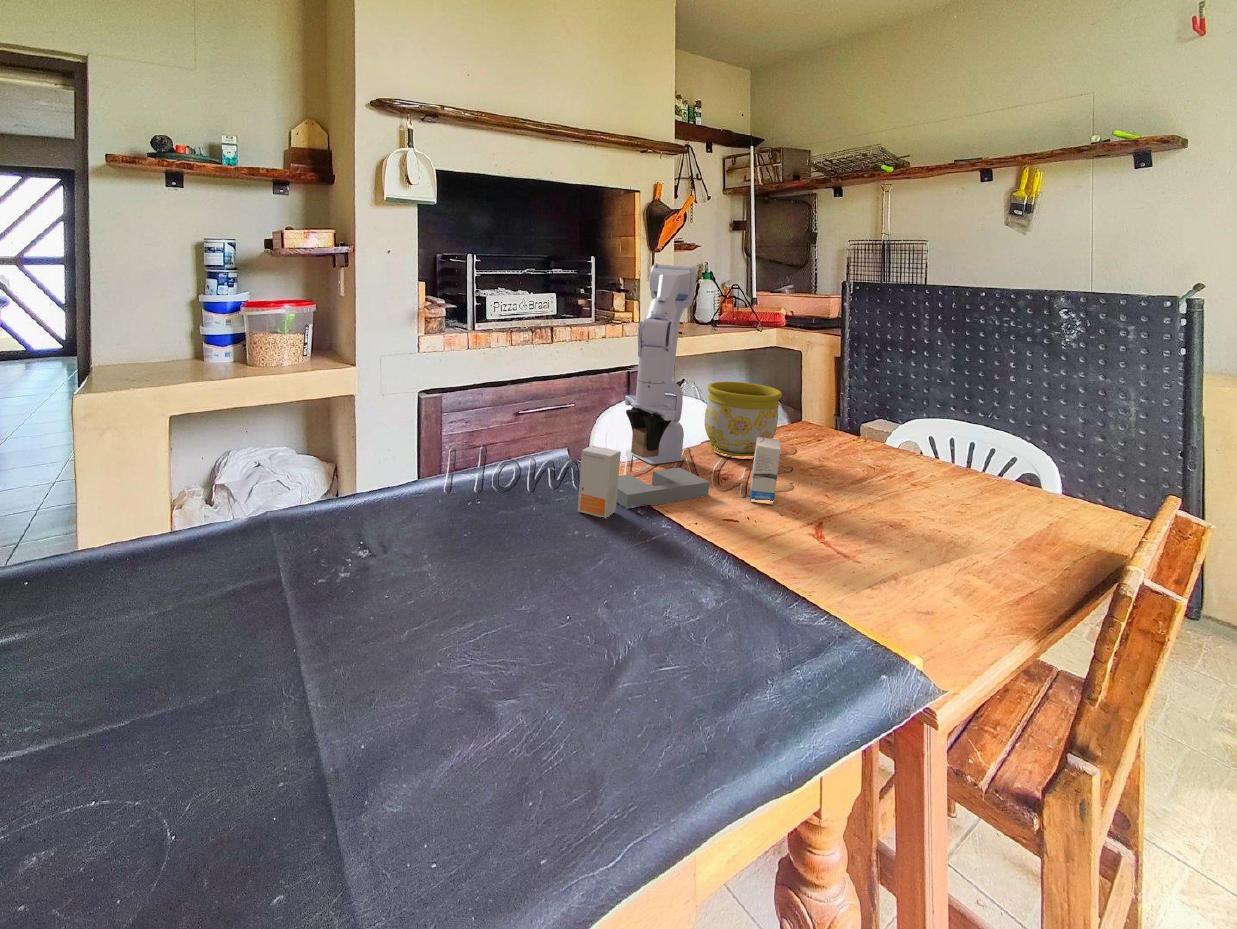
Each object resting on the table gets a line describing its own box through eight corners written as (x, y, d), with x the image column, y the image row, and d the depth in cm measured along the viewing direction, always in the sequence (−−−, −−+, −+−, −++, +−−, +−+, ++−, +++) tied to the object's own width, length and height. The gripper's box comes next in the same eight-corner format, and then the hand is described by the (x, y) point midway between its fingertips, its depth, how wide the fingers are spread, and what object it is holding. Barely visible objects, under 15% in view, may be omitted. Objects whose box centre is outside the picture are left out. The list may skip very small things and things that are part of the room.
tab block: (646, 450, 143) (649, 427, 141) (658, 455, 139) (660, 432, 138) (631, 452, 140) (633, 428, 139) (642, 457, 137) (644, 433, 136)
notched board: (677, 480, 147) (679, 467, 146) (708, 495, 139) (709, 481, 139) (598, 492, 136) (599, 478, 136) (626, 509, 129) (628, 494, 128)
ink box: (773, 506, 137) (782, 449, 133) (748, 502, 137) (756, 446, 134) (772, 492, 145) (780, 438, 141) (749, 489, 145) (756, 435, 142)
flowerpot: (744, 441, 184) (752, 380, 179) (787, 460, 169) (797, 395, 164) (687, 445, 176) (693, 381, 171) (727, 466, 161) (736, 397, 156)
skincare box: (576, 512, 125) (580, 449, 122) (587, 505, 129) (591, 444, 126) (606, 519, 123) (611, 456, 120) (616, 512, 127) (621, 450, 123)
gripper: (614, 374, 139) (610, 439, 143) (656, 388, 128) (650, 458, 132) (643, 373, 143) (637, 436, 147) (686, 387, 131) (679, 455, 135)
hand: (645, 447), depth 140 cm, fingers closed on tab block, 4 cm apart
